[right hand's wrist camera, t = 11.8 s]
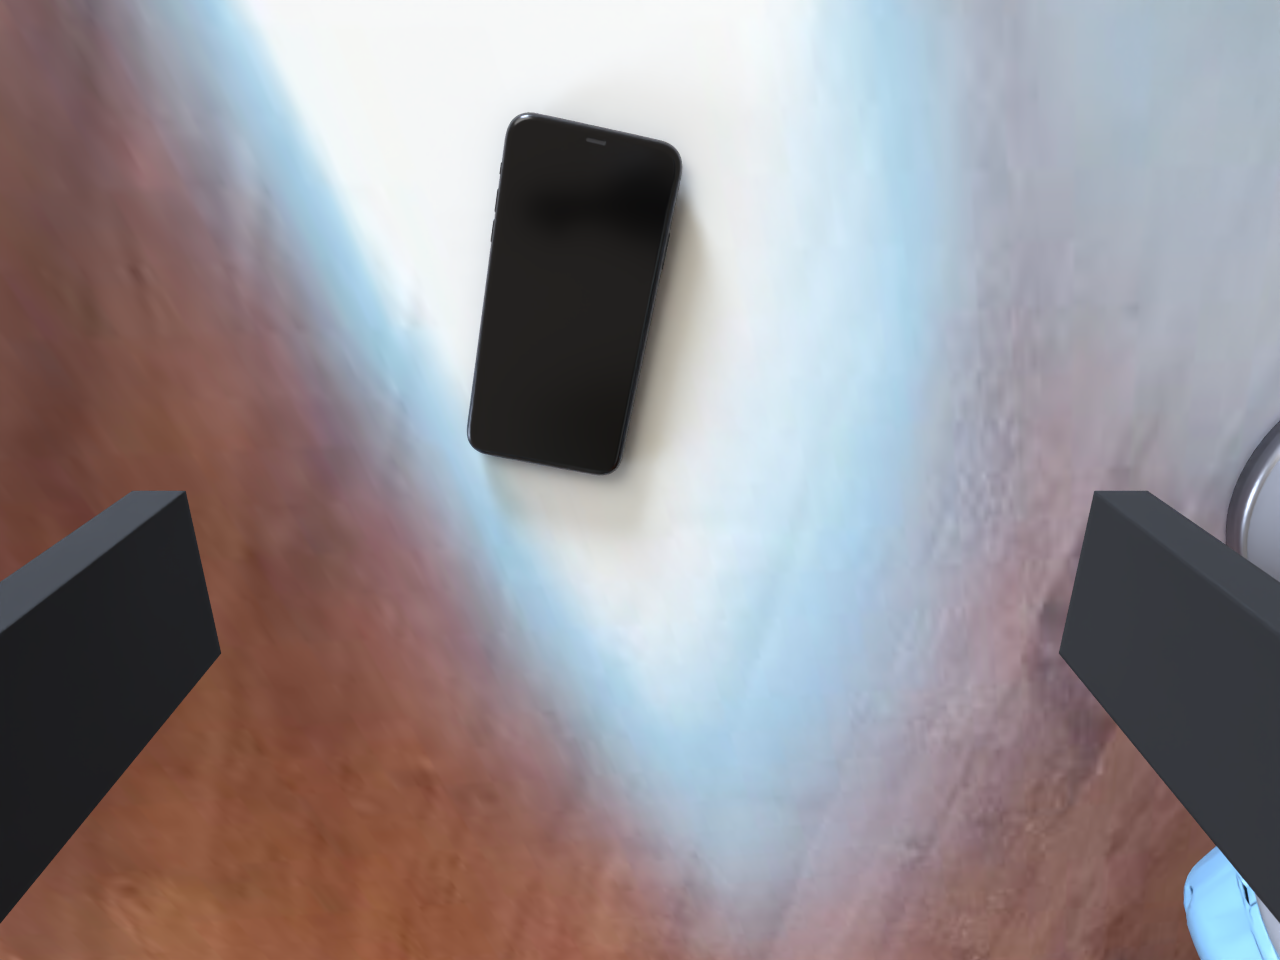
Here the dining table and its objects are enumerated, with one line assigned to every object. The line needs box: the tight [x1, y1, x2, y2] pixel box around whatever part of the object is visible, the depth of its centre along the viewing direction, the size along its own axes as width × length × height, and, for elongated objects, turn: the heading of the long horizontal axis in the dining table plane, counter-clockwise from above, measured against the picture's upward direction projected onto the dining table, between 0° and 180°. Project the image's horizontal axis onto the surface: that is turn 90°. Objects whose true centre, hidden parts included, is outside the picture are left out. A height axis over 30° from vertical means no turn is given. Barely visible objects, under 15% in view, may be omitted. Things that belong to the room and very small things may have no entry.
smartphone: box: [467, 113, 682, 475], centre depth 39 cm, size 8×1×16 cm
